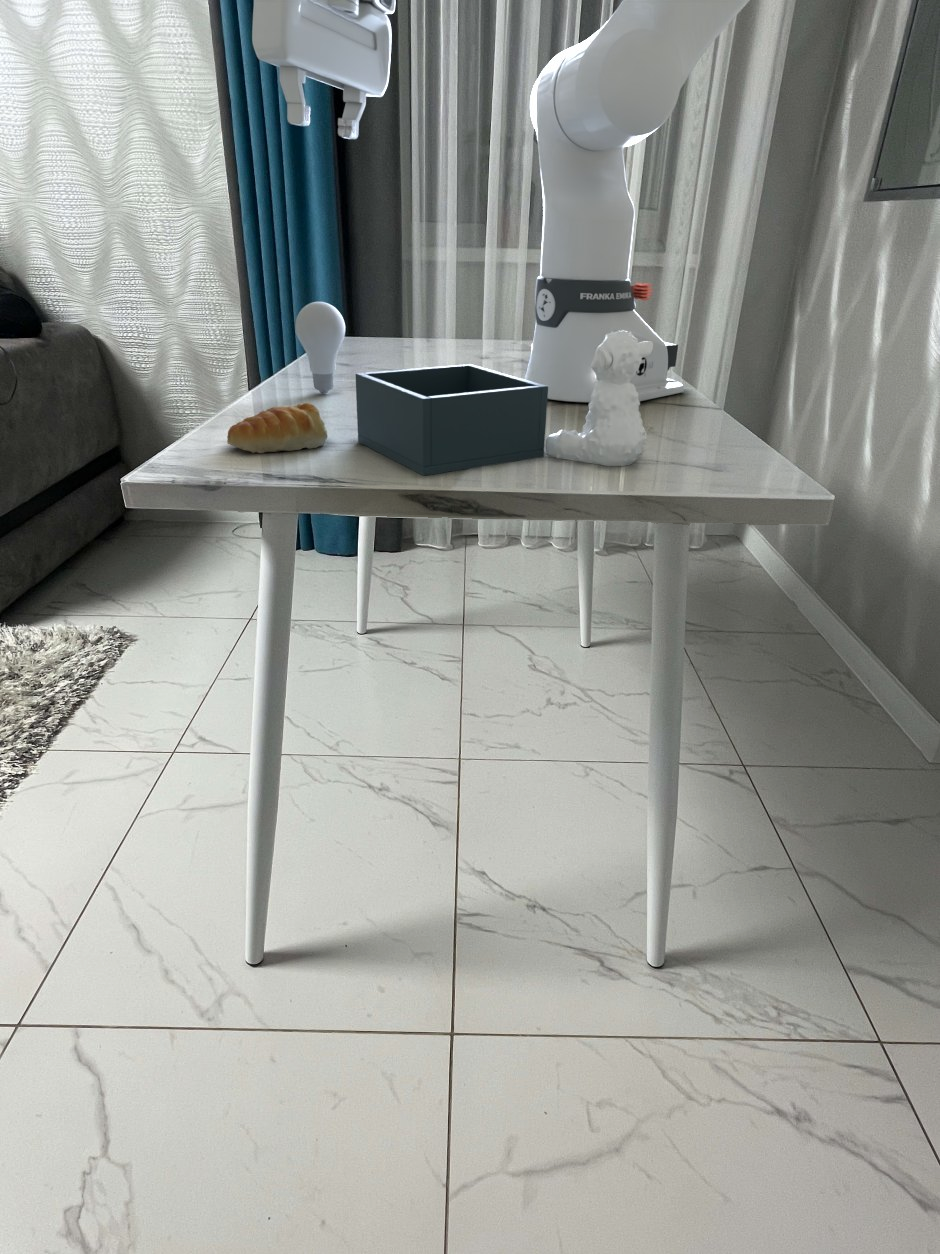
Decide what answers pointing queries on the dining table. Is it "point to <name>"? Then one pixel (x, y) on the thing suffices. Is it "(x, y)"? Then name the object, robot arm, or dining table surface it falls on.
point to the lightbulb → (321, 341)
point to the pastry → (280, 430)
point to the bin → (451, 417)
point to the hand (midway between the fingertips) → (324, 131)
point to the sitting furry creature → (609, 408)
